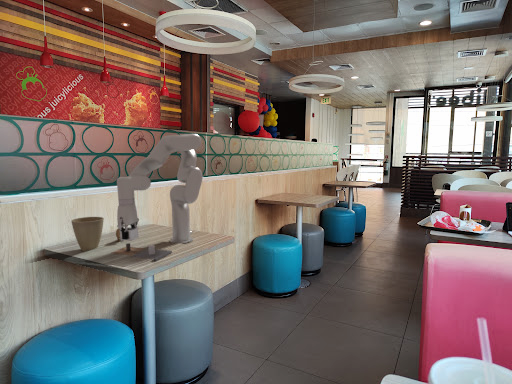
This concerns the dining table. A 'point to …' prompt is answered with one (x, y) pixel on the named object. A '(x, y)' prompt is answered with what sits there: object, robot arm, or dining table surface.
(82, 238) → the plant pot
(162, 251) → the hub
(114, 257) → the dining table surface
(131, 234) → the white hollow box
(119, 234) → the lion figurine
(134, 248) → the stand
